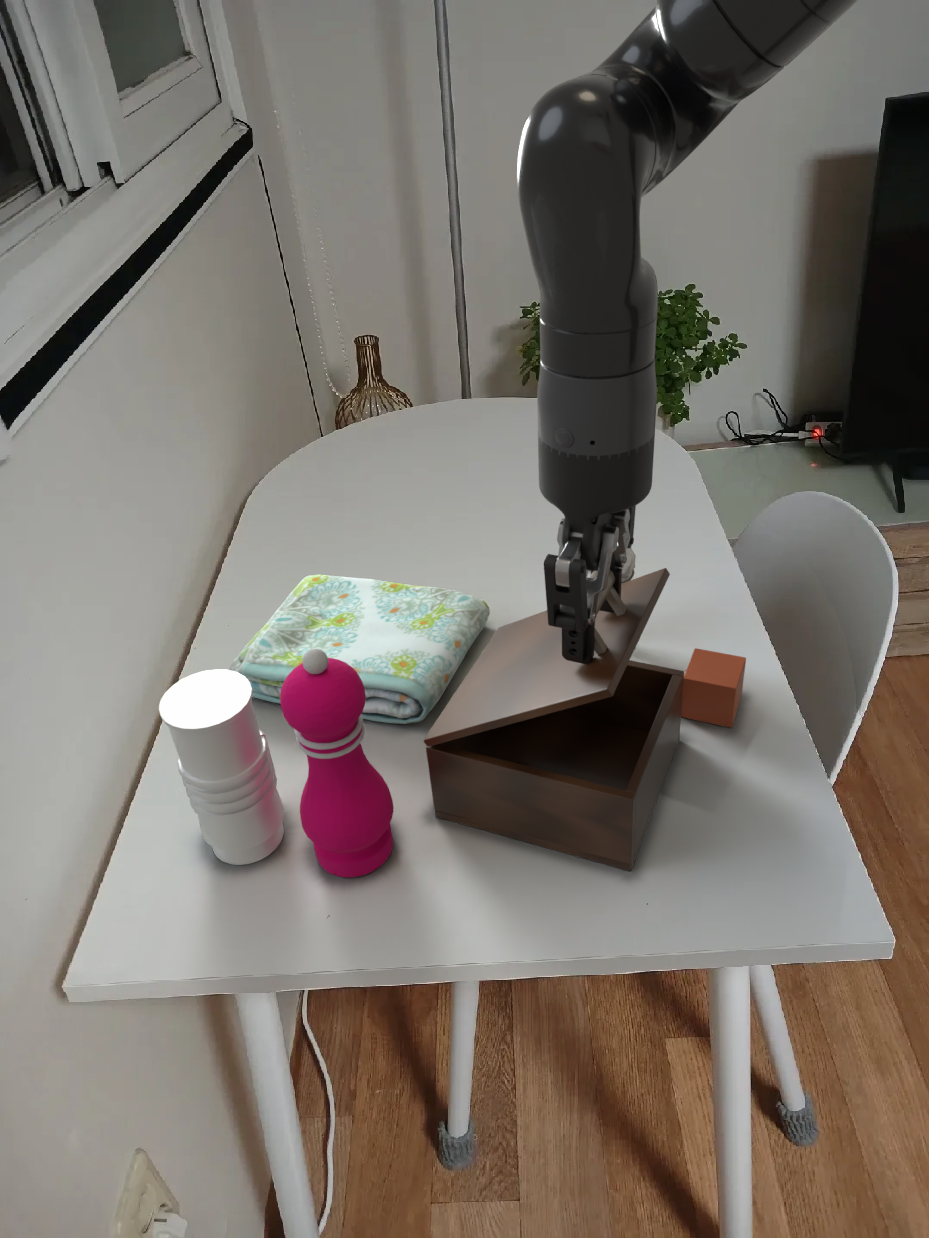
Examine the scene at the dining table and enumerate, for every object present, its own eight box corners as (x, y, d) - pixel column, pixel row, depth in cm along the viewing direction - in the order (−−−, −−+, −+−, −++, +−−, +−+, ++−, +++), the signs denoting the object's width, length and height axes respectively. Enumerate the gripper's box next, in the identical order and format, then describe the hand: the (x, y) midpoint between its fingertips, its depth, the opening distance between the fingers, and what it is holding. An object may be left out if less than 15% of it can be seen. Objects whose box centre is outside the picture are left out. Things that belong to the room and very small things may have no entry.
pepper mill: (411, 821, 79) (380, 625, 67) (381, 891, 73) (342, 691, 61) (330, 807, 81) (287, 615, 69) (295, 874, 75) (241, 678, 63)
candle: (306, 833, 78) (271, 694, 70) (235, 883, 75) (188, 743, 66) (260, 792, 83) (221, 656, 74) (190, 838, 79) (140, 700, 70)
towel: (314, 597, 107) (306, 559, 104) (493, 623, 100) (490, 583, 97) (229, 699, 93) (217, 658, 90) (430, 738, 87) (425, 695, 84)
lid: (670, 574, 75) (641, 525, 73) (612, 696, 63) (576, 642, 62) (502, 633, 85) (473, 592, 84) (427, 747, 74) (393, 701, 73)
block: (741, 696, 88) (746, 657, 85) (731, 728, 85) (736, 688, 82) (691, 686, 90) (694, 647, 87) (680, 717, 86) (683, 677, 84)
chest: (679, 739, 84) (684, 670, 79) (630, 871, 73) (633, 800, 68) (505, 700, 90) (500, 634, 86) (434, 816, 79) (425, 747, 74)
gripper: (621, 484, 55) (612, 704, 65) (680, 388, 65) (665, 590, 75) (500, 466, 57) (510, 680, 67) (575, 377, 68) (574, 574, 78)
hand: (592, 632), depth 71 cm, fingers closed on lid, 6 cm apart
